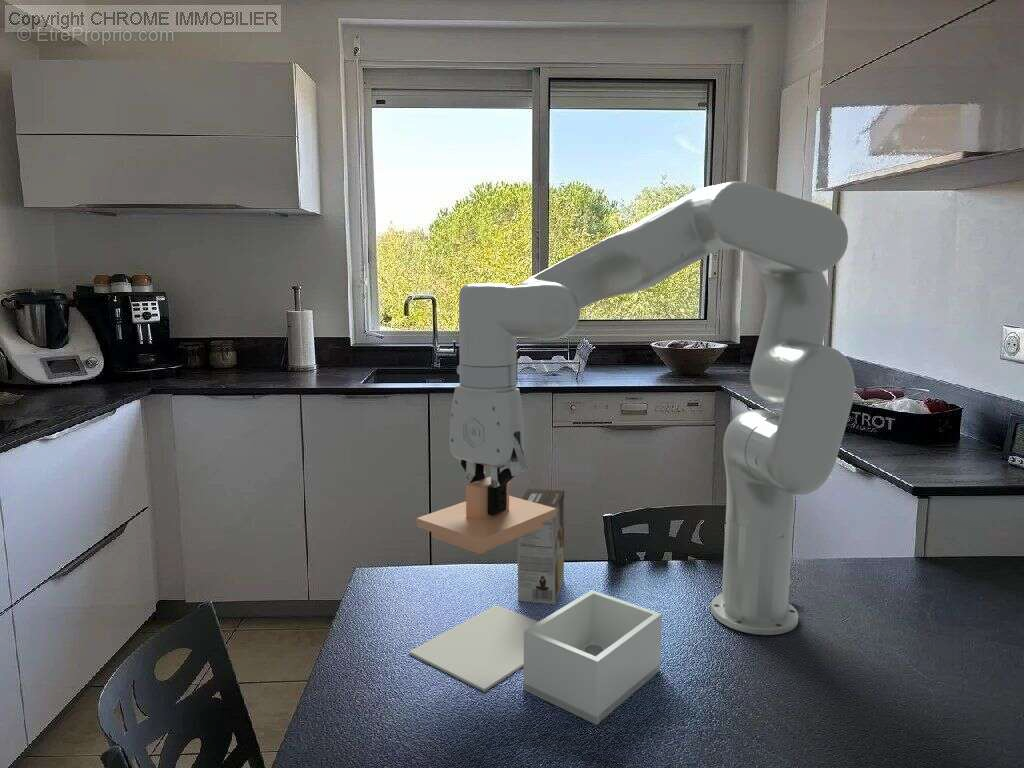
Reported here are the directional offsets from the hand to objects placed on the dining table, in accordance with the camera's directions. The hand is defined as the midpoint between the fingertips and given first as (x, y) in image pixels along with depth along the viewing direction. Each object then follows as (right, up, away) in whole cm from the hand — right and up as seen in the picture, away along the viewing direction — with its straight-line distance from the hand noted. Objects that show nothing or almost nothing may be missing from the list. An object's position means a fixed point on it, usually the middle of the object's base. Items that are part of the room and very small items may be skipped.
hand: (488, 509), depth 100 cm
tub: (+14, -21, -5) cm, 26 cm away
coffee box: (+8, -17, +20) cm, 28 cm away
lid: (0, -3, 0) cm, 3 cm away
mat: (0, -20, +3) cm, 20 cm away
